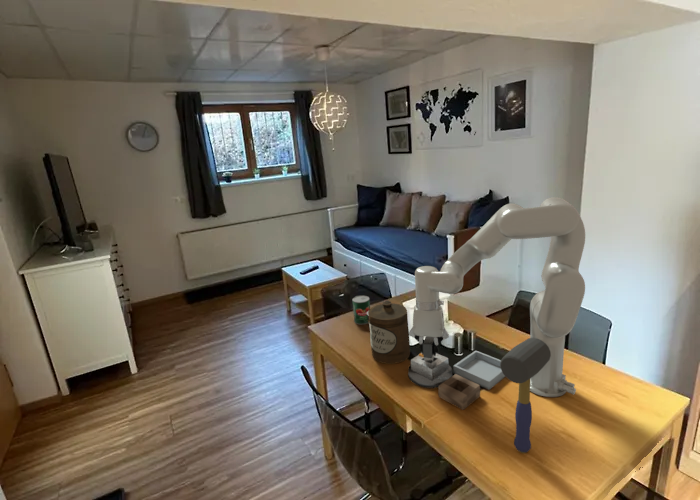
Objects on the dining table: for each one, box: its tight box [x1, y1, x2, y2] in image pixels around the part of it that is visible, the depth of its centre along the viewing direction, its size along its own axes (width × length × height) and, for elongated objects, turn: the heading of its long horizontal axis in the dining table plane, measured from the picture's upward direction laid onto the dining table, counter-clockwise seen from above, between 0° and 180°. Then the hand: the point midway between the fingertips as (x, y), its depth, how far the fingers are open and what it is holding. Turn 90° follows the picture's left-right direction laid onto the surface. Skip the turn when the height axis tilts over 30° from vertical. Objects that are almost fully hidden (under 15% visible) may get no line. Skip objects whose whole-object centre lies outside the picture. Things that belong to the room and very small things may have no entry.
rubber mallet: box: [500, 337, 551, 454], centre depth 96 cm, size 12×8×30 cm, turn 130°
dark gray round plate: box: [407, 363, 453, 389], centre depth 134 cm, size 15×15×2 cm
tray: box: [452, 350, 506, 391], centre depth 133 cm, size 14×14×3 cm
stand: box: [437, 374, 481, 411], centre depth 122 cm, size 9×9×4 cm
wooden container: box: [369, 300, 411, 365], centre depth 147 cm, size 15×15×22 cm
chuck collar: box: [410, 352, 450, 380], centre depth 133 cm, size 9×9×4 cm
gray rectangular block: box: [423, 336, 435, 363], centre depth 132 cm, size 6×3×10 cm, turn 159°
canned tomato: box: [352, 295, 371, 326], centre depth 179 cm, size 8×8×11 cm
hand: (429, 352), depth 132 cm, fingers closed on gray rectangular block, 3 cm apart
